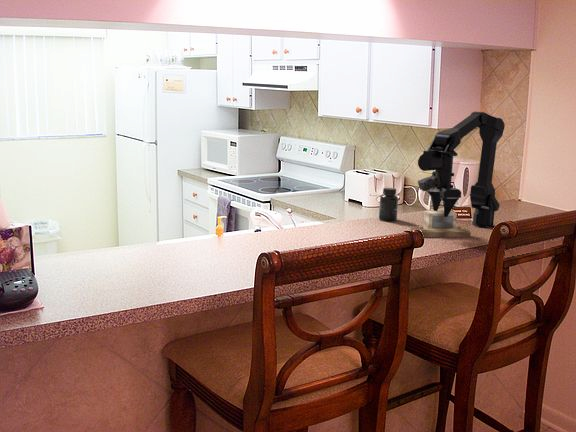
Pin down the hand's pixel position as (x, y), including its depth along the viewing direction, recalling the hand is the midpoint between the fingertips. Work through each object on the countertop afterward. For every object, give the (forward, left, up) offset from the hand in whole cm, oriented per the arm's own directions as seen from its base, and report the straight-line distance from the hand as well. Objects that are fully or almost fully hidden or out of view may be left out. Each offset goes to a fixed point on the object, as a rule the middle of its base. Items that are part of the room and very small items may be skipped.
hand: (440, 214), depth 235 cm
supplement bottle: (+11, -24, -7) cm, 27 cm away
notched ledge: (0, 0, -7) cm, 7 cm away
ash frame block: (0, 0, -5) cm, 5 cm away
